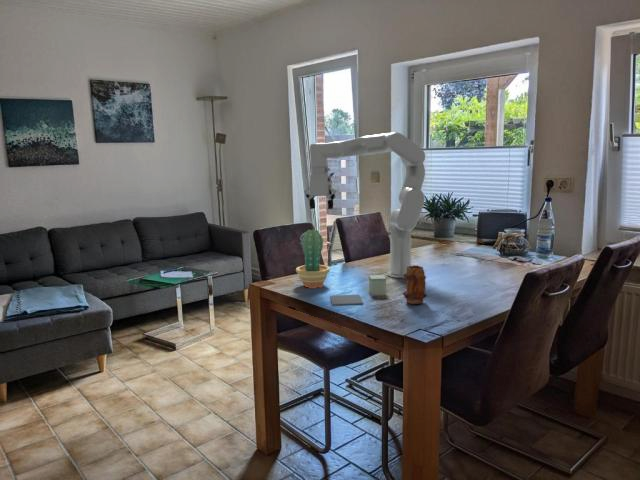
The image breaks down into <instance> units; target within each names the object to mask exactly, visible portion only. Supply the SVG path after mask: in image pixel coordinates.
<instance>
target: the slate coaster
mask: <svg viewBox="0 0 640 480" xmlns="http://www.w3.org/2000/svg"><path fill="white" fill-rule="evenodd" d="M330 298H331V299H330ZM329 299H330V303H331V302H332V303H331V306H332V305H336V306H354V305H355V306H357V305H358V306H359V305H360V306H361V305H364V301H363V300H362V298H361V295H360V294H342V295H340V294H337V295H336V294H335V295H334V294H333V295H329Z"/></svg>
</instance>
